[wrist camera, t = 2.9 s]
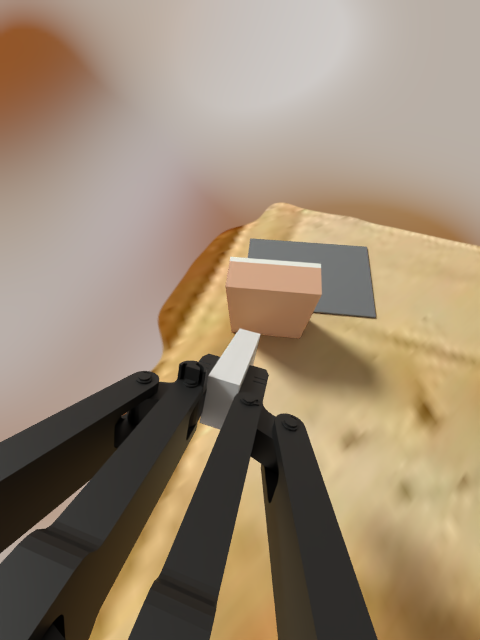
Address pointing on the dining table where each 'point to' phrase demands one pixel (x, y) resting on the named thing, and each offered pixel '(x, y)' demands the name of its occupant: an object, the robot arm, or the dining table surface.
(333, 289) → the mat
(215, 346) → the dining table surface
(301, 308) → the tan and white box
